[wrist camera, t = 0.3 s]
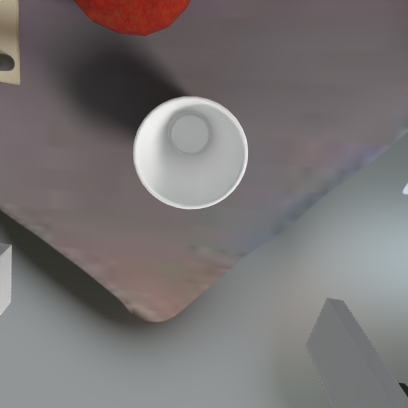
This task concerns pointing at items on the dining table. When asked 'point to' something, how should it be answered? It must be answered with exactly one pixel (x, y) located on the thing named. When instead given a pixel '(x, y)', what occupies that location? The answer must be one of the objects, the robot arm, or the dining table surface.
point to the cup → (190, 152)
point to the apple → (133, 14)
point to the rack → (9, 42)
